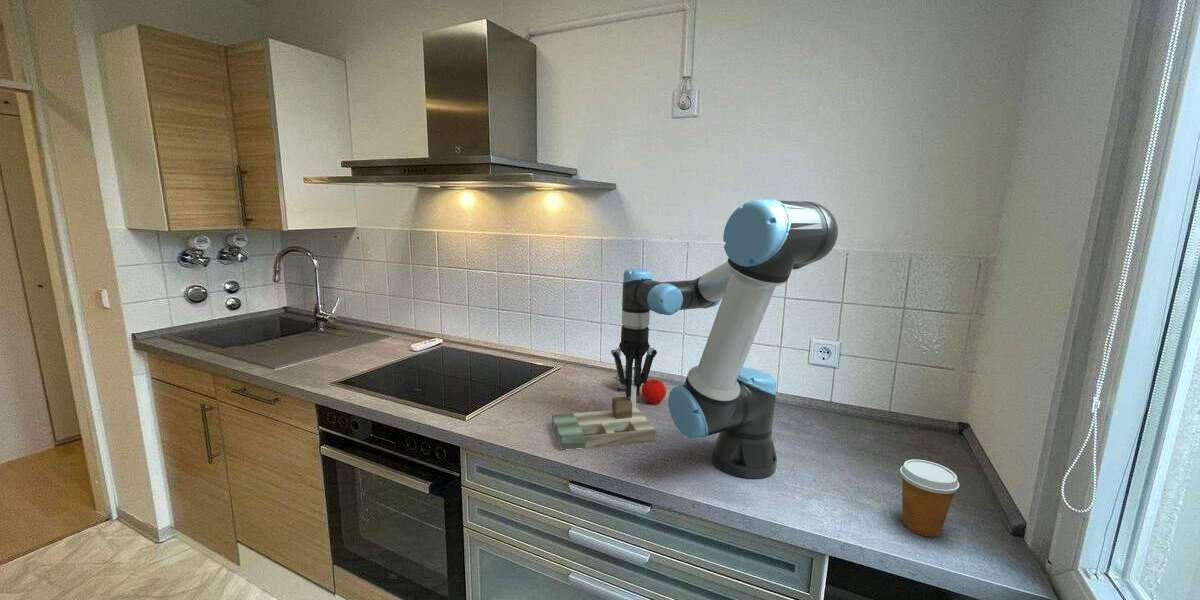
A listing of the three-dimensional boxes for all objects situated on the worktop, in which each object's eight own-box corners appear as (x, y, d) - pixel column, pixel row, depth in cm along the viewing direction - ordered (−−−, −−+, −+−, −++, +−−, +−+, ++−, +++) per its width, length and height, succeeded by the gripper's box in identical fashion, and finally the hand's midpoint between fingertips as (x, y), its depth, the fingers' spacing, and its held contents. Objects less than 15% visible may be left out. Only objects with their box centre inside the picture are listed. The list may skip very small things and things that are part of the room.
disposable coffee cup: (955, 549, 90) (966, 489, 87) (895, 533, 94) (904, 476, 91) (944, 520, 98) (954, 465, 96) (890, 507, 102) (898, 454, 100)
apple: (637, 398, 158) (638, 376, 156) (660, 396, 159) (661, 375, 158) (644, 408, 150) (645, 385, 149) (669, 406, 152) (670, 383, 150)
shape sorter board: (655, 441, 129) (656, 430, 128) (562, 450, 122) (562, 439, 122) (636, 417, 143) (637, 407, 142) (551, 425, 136) (552, 415, 136)
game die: (627, 402, 163) (627, 386, 156) (608, 388, 168) (607, 371, 160) (644, 385, 168) (645, 368, 160) (625, 371, 172) (625, 354, 164)
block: (631, 417, 135) (632, 402, 135) (616, 419, 134) (616, 403, 133) (627, 411, 140) (627, 396, 139) (611, 412, 139) (612, 397, 138)
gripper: (652, 321, 138) (649, 400, 143) (608, 323, 135) (606, 403, 140) (662, 328, 131) (658, 410, 136) (616, 329, 128) (613, 414, 132)
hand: (631, 406), depth 138 cm, fingers closed
